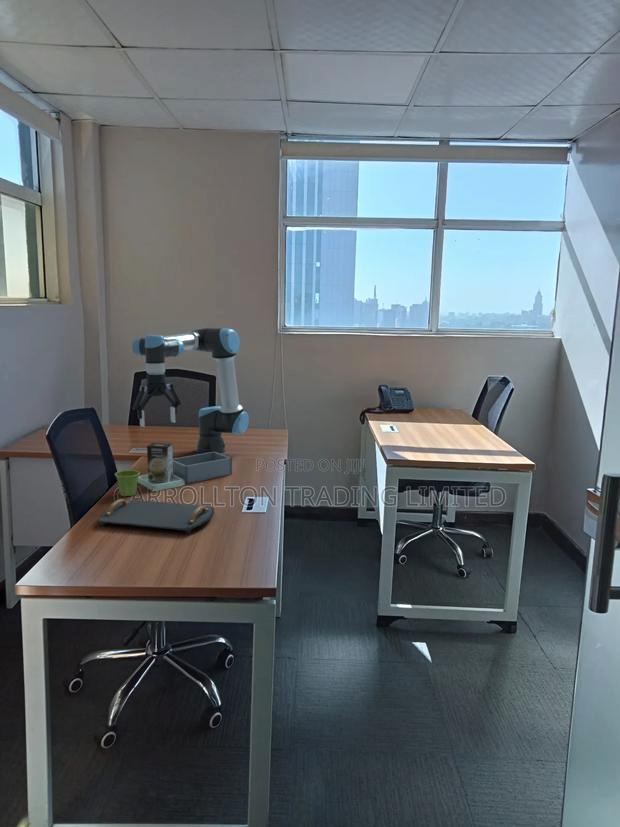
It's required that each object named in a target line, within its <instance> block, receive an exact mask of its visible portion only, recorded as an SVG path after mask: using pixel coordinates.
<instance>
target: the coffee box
mask: <svg viewBox="0 0 620 827" xmlns="http://www.w3.org/2000/svg"><path fill="white" fill-rule="evenodd" d="M146 449H147V450H146V453H147V455H146V456H147V474H148V482H150V483H167V482H171V481H172V480H173V459H174V458H173V443H167V442H166V443H165V442H151V443H150V444H148V445H147V446H146Z"/></svg>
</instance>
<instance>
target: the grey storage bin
mask: <svg viewBox="0 0 620 827" xmlns="http://www.w3.org/2000/svg"><path fill="white" fill-rule="evenodd" d="M173 474H174V475H176V476H178V477H180V478H182V479H184V480H185V483H187V484H191V483H190V482H192V483H195V481H196V482H201V481H206V480H210V479H215V478H220V477H224V476H229V475H233V458H232V457H231V456H227V455H224V454H222V453H217V452H209V453H203V454H201V453H196V454H193V455H187V456H186V455H185V456H181V457H175V458H173ZM205 479H206V480H205ZM200 480H201V481H200Z"/></svg>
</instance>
